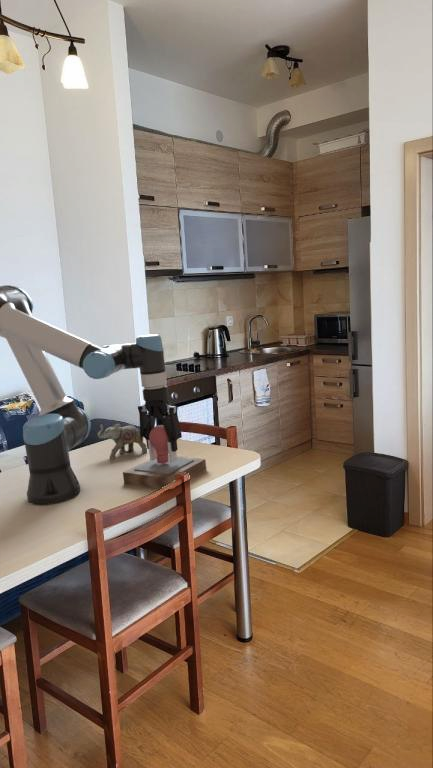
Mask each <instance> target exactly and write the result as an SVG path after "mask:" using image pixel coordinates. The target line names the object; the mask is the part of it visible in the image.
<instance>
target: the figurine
mask: <svg viewBox="0 0 433 768" xmlns="http://www.w3.org/2000/svg"><path fill="white" fill-rule="evenodd" d="M99 427H100V430H99V431H98V432H97V437H98V438H99V439H110V440H112V441H114V443H115V445H114V447H113V448H112V449H111V453H110V455H109V460H114V459H116V454H117V453H119V454H126V453H130V452H132V451H134V450H135V447H134V443H135V444H138V446H139V447H140V448H141V453H143V454H144V453H147V452H148V448H147V443H145V442H144V437H141V436H140V429H138V428H136V426H134V425H126V426H122V425H121V424H120V423H116V424H114V425H113V426H109V427H107V428H106V429H105V430H104V426H103V424H102V423H101V424H100V425H99ZM125 446H127V447H128V450H126V447H125ZM118 451H119V452H118Z"/></svg>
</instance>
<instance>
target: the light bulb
mask: <svg viewBox="0 0 433 768" xmlns="http://www.w3.org/2000/svg"><path fill="white" fill-rule="evenodd" d="M172 437H173V436H172ZM149 440H150V443H151V444H152V446H153V447H154V449H155V450H156V454H157V463H161V464H165V463H167V462H169V460H168V458H169V457H168V455H169V452H168V443H167V442H168V441H169V438H168V436H167V433H166V431H165V428H164V426H163V424H158V425H155V427H154V428H153V429H152V430H151V432H150V434H149Z"/></svg>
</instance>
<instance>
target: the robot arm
mask: <svg viewBox="0 0 433 768" xmlns="http://www.w3.org/2000/svg"><path fill="white" fill-rule="evenodd" d="M27 292H28V291H25V290H24V289H23V288H21V287H18V286H13V285H1V286H0V338H4V339H5V340H6V342H7V343H8V346H9V347H10V350H11V352H12V354H13V356H14V357H15V360H16V362H17V363H18V365H19V368H20V369H21V372H22V374H23V376H24V378H25V379H26V381H27V384H28V386H29V388H30V390H31V392H32V393H33V396H34V398H35V399H36V401H37V404H38V405H39V407H40V410H39V414H38V416H35V417H32V418H30V419H28V420H27V421H26V422H25V423H24V424H23V426H22V434H23V435H22V438H23V443H24V447H25V452H26V453H25V454H26V459H27V464H28V465H27V466H28V471H29V479H28V485H27V486H28V487H27V491H26V499H27V503H29V504H31V505H35V506H49V505H54V504H58V503H62V502H66V501H69V500H71V499H74V498H75V497H77V496H78V495H79V494H80V493H81V487H80V482H79V480H78V478H77V476H76V474H75V472H74V471H73V469H72V466H71V458H70V453H69V451H71V450H72V449H74V448H75V447H76V446H79V445H80V444H82V443H83V442H84V441H85V440H86V438H87V437H88V436H89V434H90V432H91V426H92V425H91V420H90V417H89V414H88V413H87V412H86V411H85V410H84V409H82V408H80V407H78V405H77V404H76V402H75V400H74V399H73V398H70V397H68V396H67V395H66V393H65V391H64V389H63V386H62V384H61V383H60V381H59V378H58V377H57V374H56V372H55V370H54V368H53V366H52V364H51V362H50V361H49V358H48V356H47V354H50V355H52V356H54V357H56V358H58V359H60V360H62V361H65V362H67V363H69V364H71V365H73V366H75V367H78V368H80V369H82V370H83V371H84V373H85V374H86V375H87V376H88V377H89V378H90V379H94V380H100V379H104V378H108V377H109V376H111V375H113V374H115V373H118V372H119V371H122V370H128V369H130V370H131V369H139V373H140V381H141V387H142V388H143V389H142V398H143V401H144V404H140V405H137V410H138V413H139V414H138V415H139V430H140V436H141V437H143V439H145V440H146V447H147V450H148V454H149V460H150V461H153V460H155V459H157V454H156V450H155V449H154V447H153V446H152V444H151V443H150V440H149V434H150V432H151V430H152V429H153V428H154V427H156V421H157V418H158V419H159V421H160V422H161V423H162V425H163V426H164V428H165V431H166V433H167V436H168V438H169V441H168V442H167V443H168V452H169V454H168V455H169V460H170V463H173V462H175V461H177V456H178V454H177V452H178V442H177V441H178V440H179V439H182V437H183V435H182V431H181V426H180V420H179V416H178V409H179V408H178V406H177V405H170V403H169V401H168V400H169V396H170V395H169V389H168V386H167V384H168V380H167V371H166V364H165V355H164V353H165V351H164V346H163V341H162V337H161V335H160V334H156V333H154V334H144V335H138V336H137V337H136V338H135V342H132V343H122V344H121V343H120V344H118V343H117V344H107V345H102V346H98V345H96V344H93V343H91V342H89V341H87V340H86V339H83V338H81V337H79V336H76V335H74V334H72V333H69V332H67V331H66V330H63V329H61V328H58V327H56V326H54V325H52V324H50V323H47V321H46V322H45V321H43V320H41V319H38V318H36V317H34V316H33V310H34V303H33V301H32V297H31V296H30V295H29V293H27ZM172 436H173V437H172Z"/></svg>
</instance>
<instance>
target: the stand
mask: <svg viewBox="0 0 433 768" xmlns="http://www.w3.org/2000/svg"><path fill="white" fill-rule="evenodd" d="M168 457H169V454H168ZM168 460H169V458H168ZM206 471H207V463H206V459H205V458H197V457H189V456H179V455H177V461H175V462H173V463H170V460H169V462H167V463H165V464H161V463H157V459H155V460H153V461H150V459H148V460H146V461H144V462H141V463H139V464H137V465H135V466H132V467H131V468H129V469H126V470H124V471H123V472H122V478H123V483H124V484H126V485H132V486H137V487H138V486H139V487H146V488H152V489H160V488H162V487H164V486H166V485H168V484H170V483H172V482H173V481H174V480H175V474H176V473H179V472H186V473H189V475H190V480H192V479H193V477H194V478H195V477H198V476H199V475H200V474H202V473H204V472H206ZM191 478H192V479H191ZM160 490H161V489H160Z"/></svg>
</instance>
